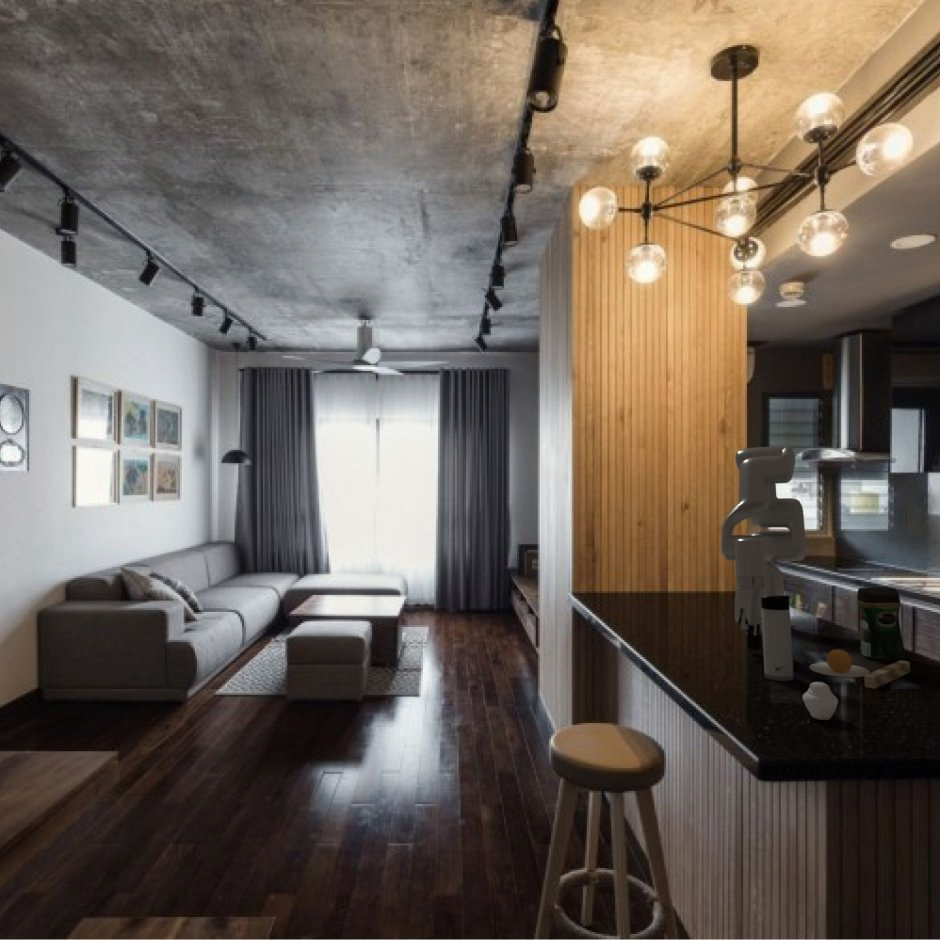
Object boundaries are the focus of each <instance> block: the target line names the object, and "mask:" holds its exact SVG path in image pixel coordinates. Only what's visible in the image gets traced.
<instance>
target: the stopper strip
mask: <svg viewBox="0 0 940 940" xmlns="http://www.w3.org/2000/svg"><path fill="white" fill-rule="evenodd" d="M910 673H911V662H910V661H907V660H897V661H896V662H892V663H891V664H888V665H887V666H884V667H881V668H879V669H876V670H874V671H872V672H870V673H869V674H867V675H865V676H863V677H864V687H865V688H868V689H869V688H870V689H877V688H879V687H882V686H883V685H886V684H888V683H890V682H892V681H894V680H897V679H899V678H901V677H903V676H905V675H907V674H910Z"/></svg>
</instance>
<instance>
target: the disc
mask: <svg viewBox="0 0 940 940" xmlns="http://www.w3.org/2000/svg"><path fill="white" fill-rule="evenodd" d="M808 669H810V670H811V671H812V672H814V673H817V674H819V675H820V674H821V675H826V676H831V677H839V678H840V677H841V678H861V677H864V676H865V675H867V674H869V673H871V672H870V670H869V669H867V668H865V667H863V666H859V665H855V664H852V667H851V668H850V670H848V671H847V672H843V673H841V672H836V671H834V670H832V669H831V668H830V667H829V666H828V664H827V661H825V662H816V663H813V664H812V663H811V664H810V665H809V667H808Z"/></svg>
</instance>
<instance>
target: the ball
mask: <svg viewBox="0 0 940 940" xmlns="http://www.w3.org/2000/svg"><path fill="white" fill-rule="evenodd" d="M826 662H827V664H828V666H829V667H830V668H831V669H832V670H834V671H836V672H841V673H843V672H847V671H848V670H850V668H851V667H852V665H853V659H852V656H851V655H850V654H849V653H848V652H847V651H845V650H843V649H840V648H839V649H838V648H837V649H832V650H830V651H829V652H828V653H827V656H826Z"/></svg>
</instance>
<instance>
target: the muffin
mask: <svg viewBox="0 0 940 940" xmlns="http://www.w3.org/2000/svg"><path fill="white" fill-rule="evenodd" d="M802 701H803V702H804V705H805V707H806V709H807V710H808V711H809V713H810V716H811V717H812V718H814V719H815V720H820V721H821V720H822V721H826V720H827V721H828V720H831V718H832V716H833V715H834V713H835V711H836V710H837V707H838V703H839V699H838V698H837V697H836V696H835V695H834V694H833V692H832V691H831V689H830V686H829V685H828V684H826V683H824V682H822V681H815V682H814V681H813V682H812V683H810V684H809V688H808V689H807V691H805V692H804V693H803V695H802Z"/></svg>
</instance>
